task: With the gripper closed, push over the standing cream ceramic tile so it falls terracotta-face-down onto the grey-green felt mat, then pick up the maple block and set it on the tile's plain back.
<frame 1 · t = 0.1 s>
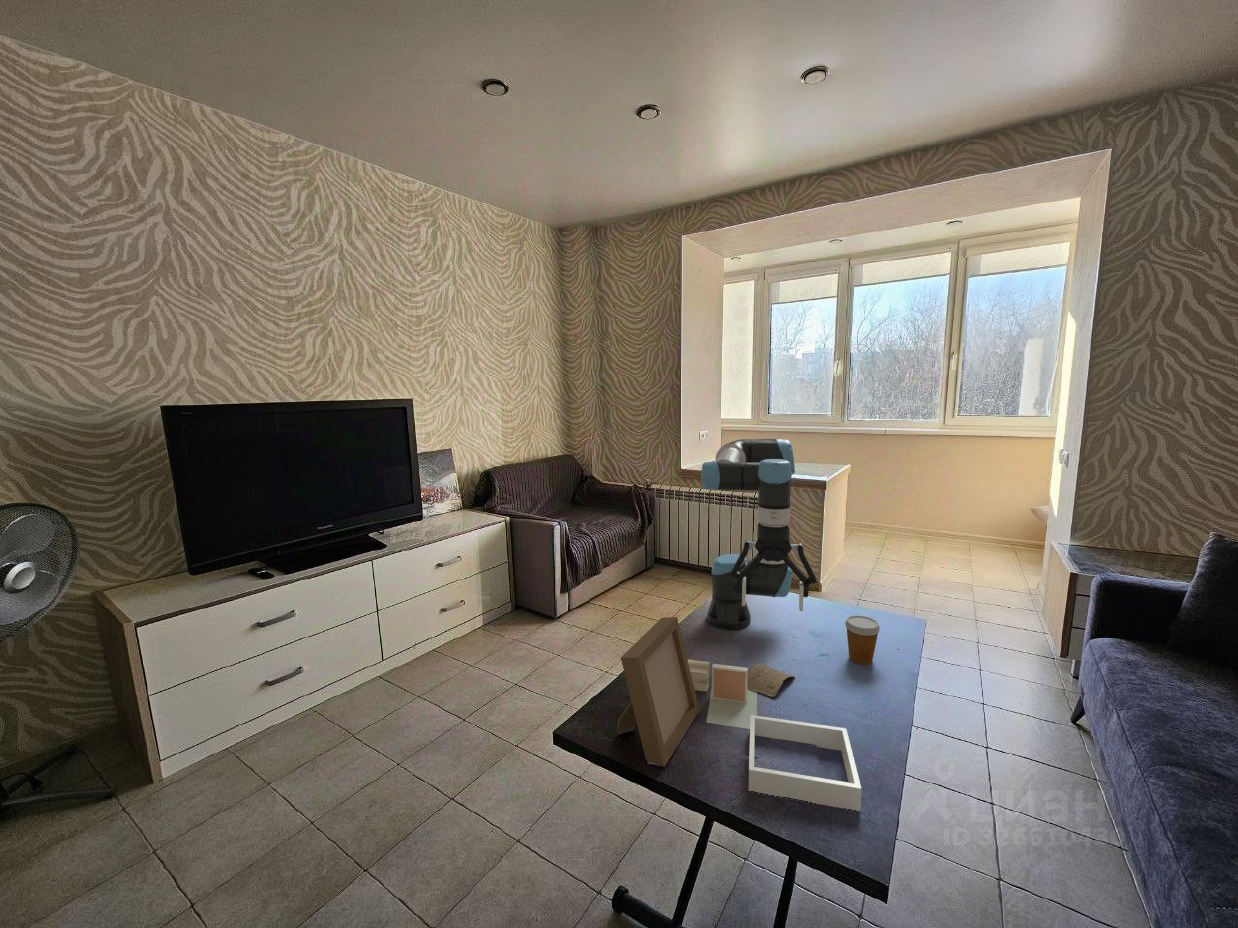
hand: (771, 606, 126), 28 cm above the table, fingers open, 13 cm apart
disposable coffee cup: (860, 659, 153), on the table
block: (697, 686, 141), on the table
tile: (729, 698, 134), point 1 cm above the table, touching mat
photo frame: (655, 731, 123), on the table
white open rectangular frame: (799, 768, 110), on the table
clay tablet: (769, 682, 142), on the table, touching mat
mat: (733, 706, 132), on the table
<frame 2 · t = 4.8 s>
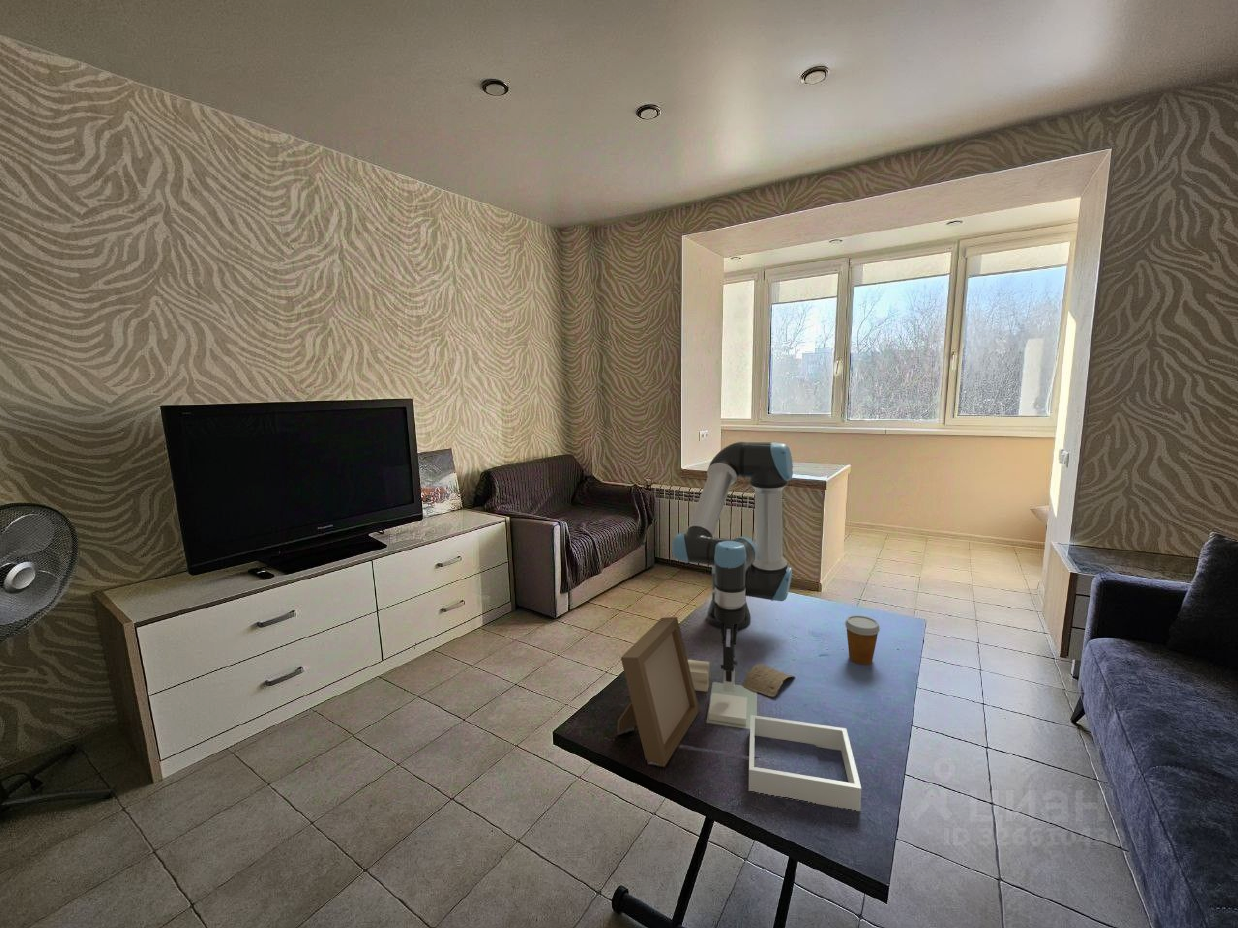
hand: (728, 689, 131), 5 cm above the table, fingers closed
tile: (729, 697, 133), point 2 cm above the table, tilted 90°, touching mat
everything else where it was.
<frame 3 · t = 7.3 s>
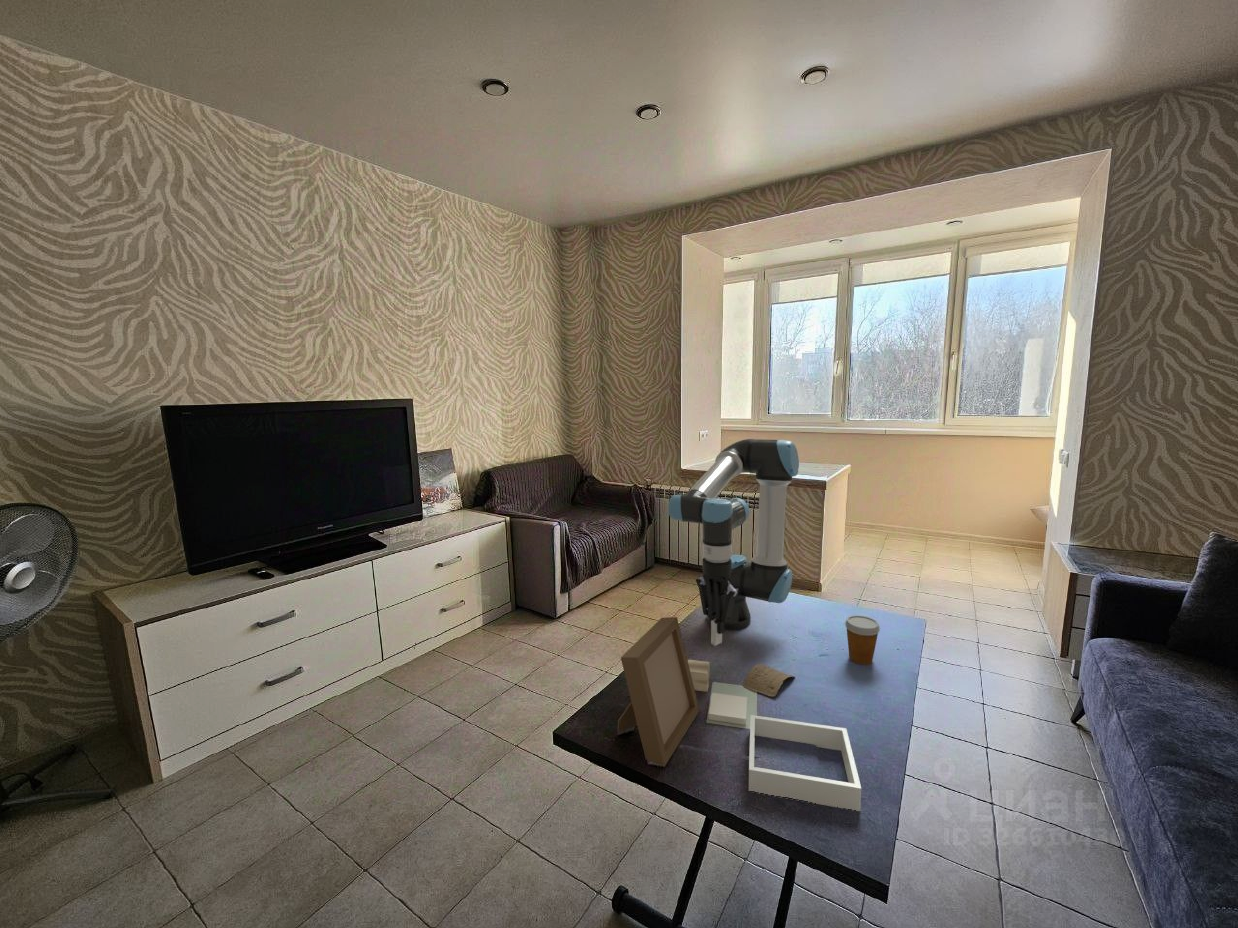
hand: (716, 642, 136), 14 cm above the table, fingers closed
nothing on the table moved.
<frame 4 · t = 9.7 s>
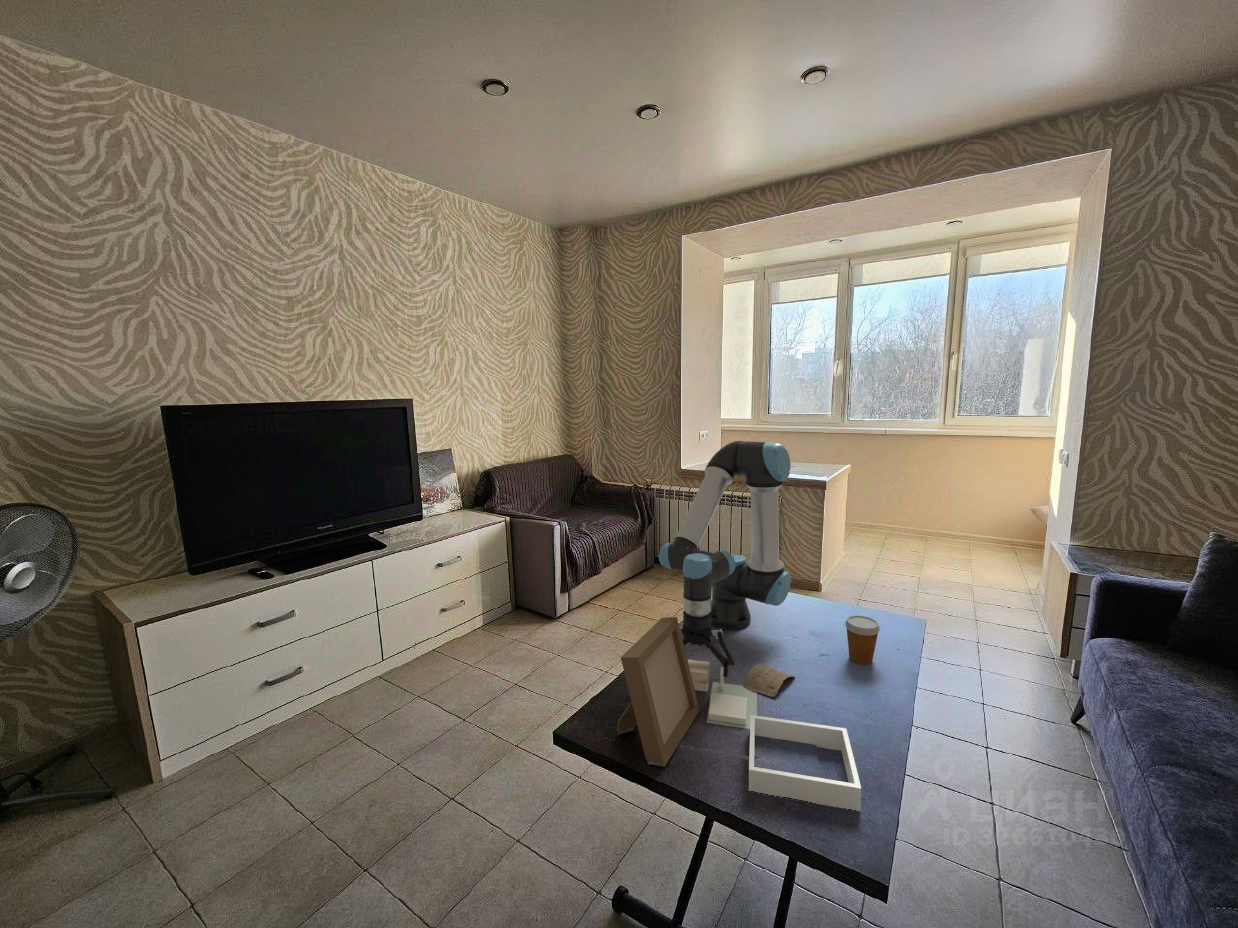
hand: (696, 683, 141), 1 cm above the table, fingers open, 13 cm apart
nothing on the table moved.
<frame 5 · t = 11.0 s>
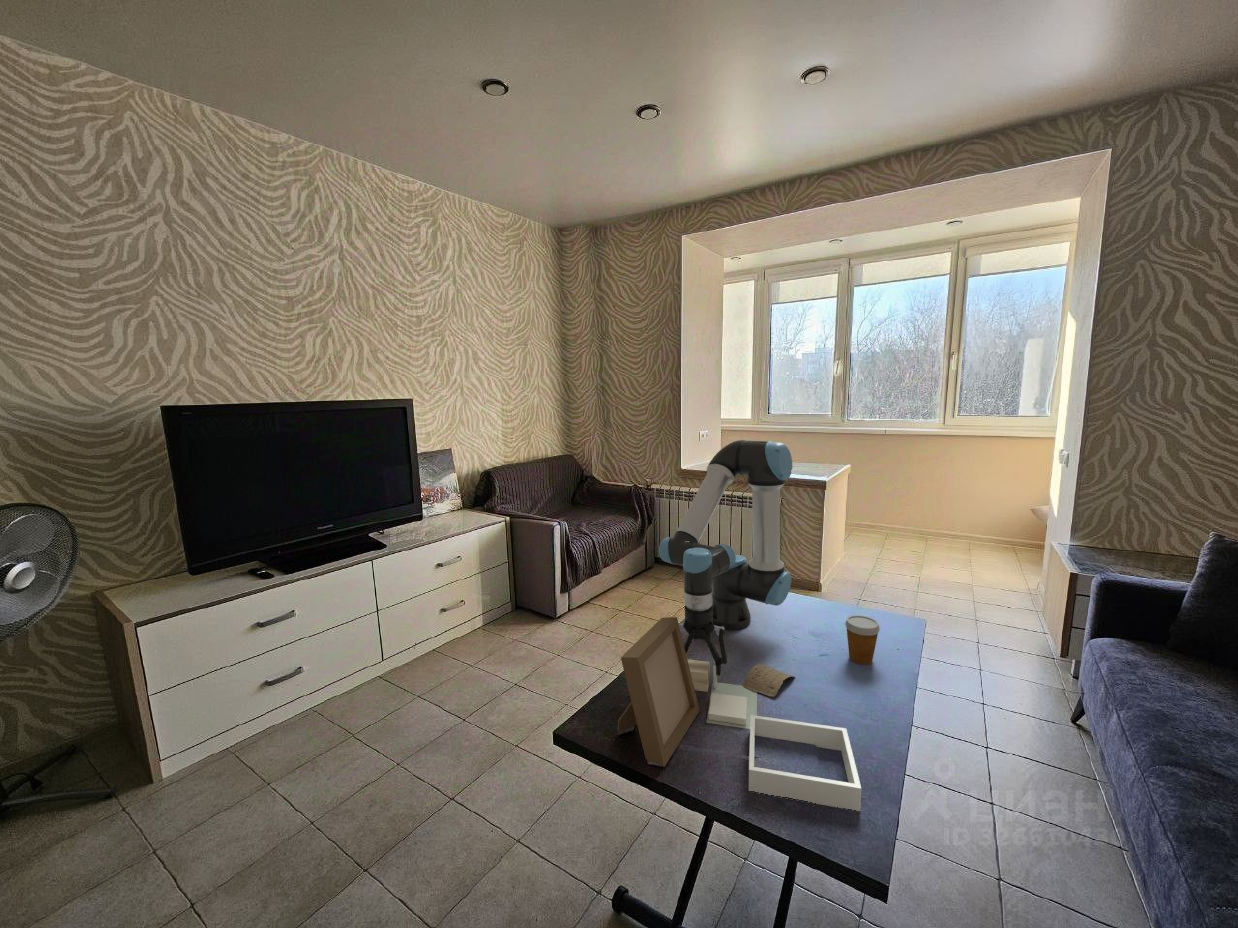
hand: (700, 683, 141), 1 cm above the table, fingers open, 7 cm apart
block: (697, 686, 141), on the table, touching gripper
everything else where it was.
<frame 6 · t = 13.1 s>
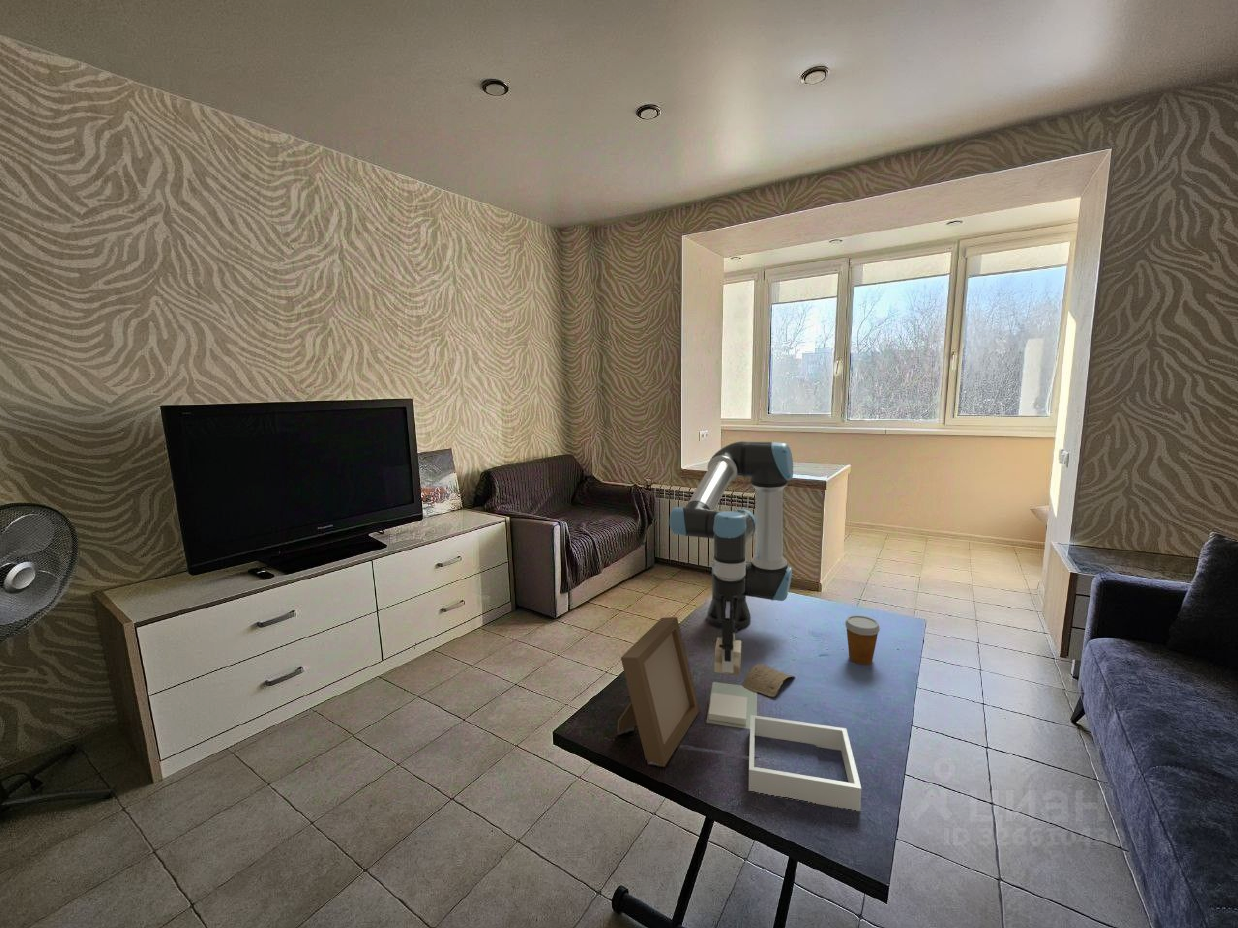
hand: (728, 664, 127), 14 cm above the table, fingers closed on block, 6 cm apart
block: (727, 667, 127), point 13 cm above the table, touching gripper
everything else where it was.
when the fingers open (3 cm above the table, at t = 15.1 s): block stays where it is, resting on tile.
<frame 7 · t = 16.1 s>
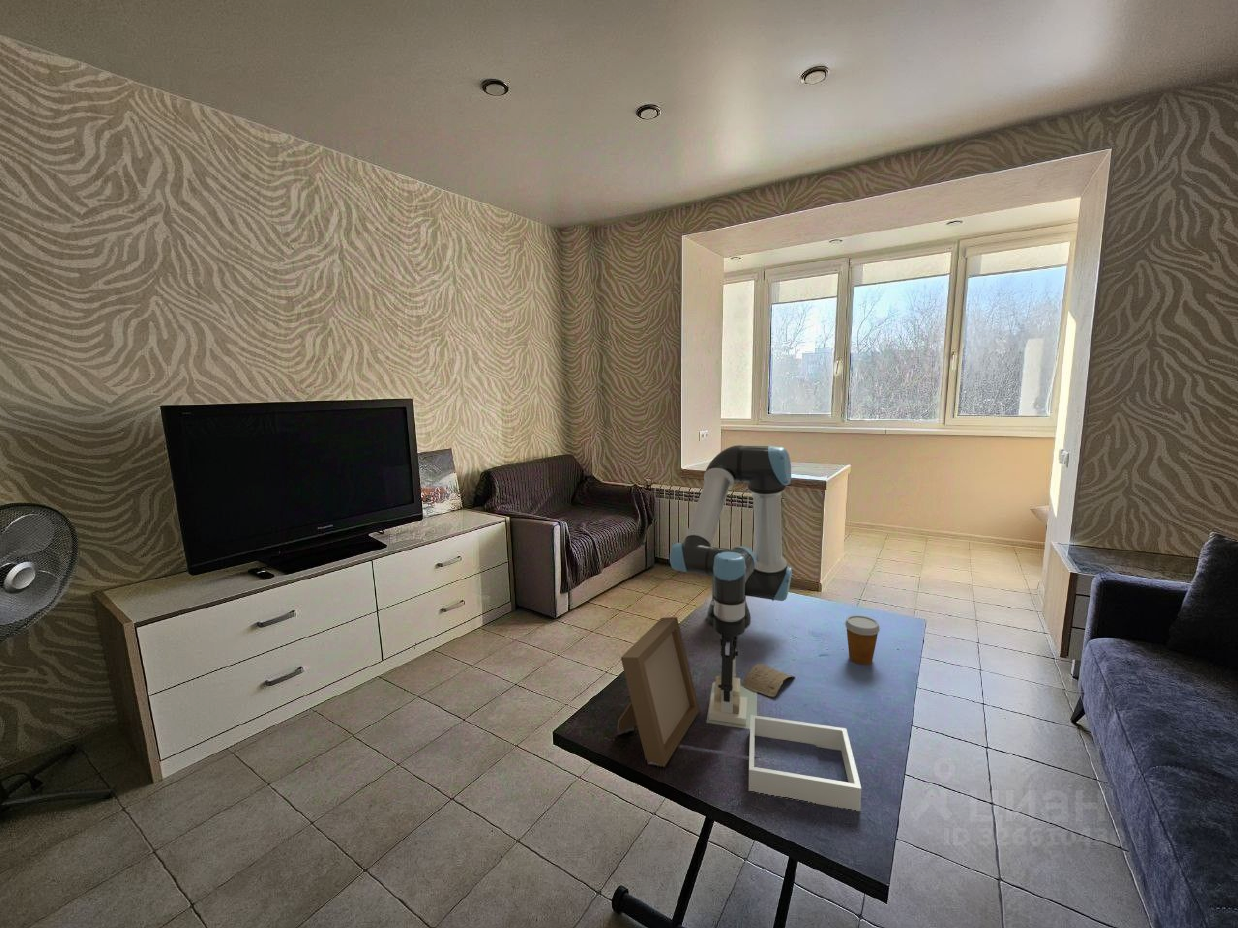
hand: (728, 694, 128), 5 cm above the table, fingers open, 13 cm apart
block: (727, 705, 129), point 2 cm above the table, touching tile
tile: (729, 697, 133), point 2 cm above the table, tilted 90°, touching block, mat
everything else where it was.
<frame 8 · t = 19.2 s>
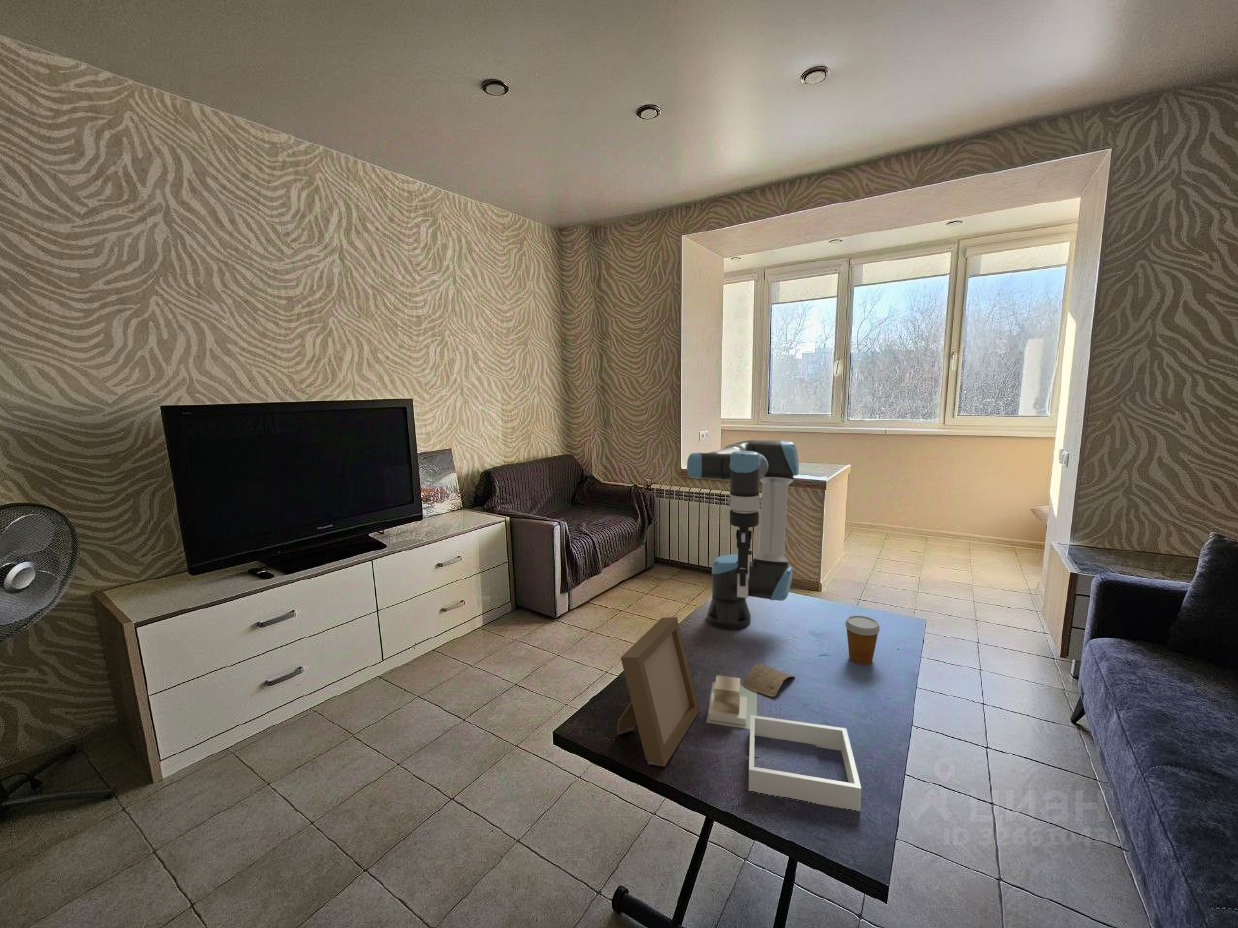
hand: (743, 586, 137), 29 cm above the table, fingers open, 13 cm apart
nothing on the table moved.
at the end: tile tilted 90°; block point 2.3 cm above the table; block 4.6 cm from the tile (horizontally) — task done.
